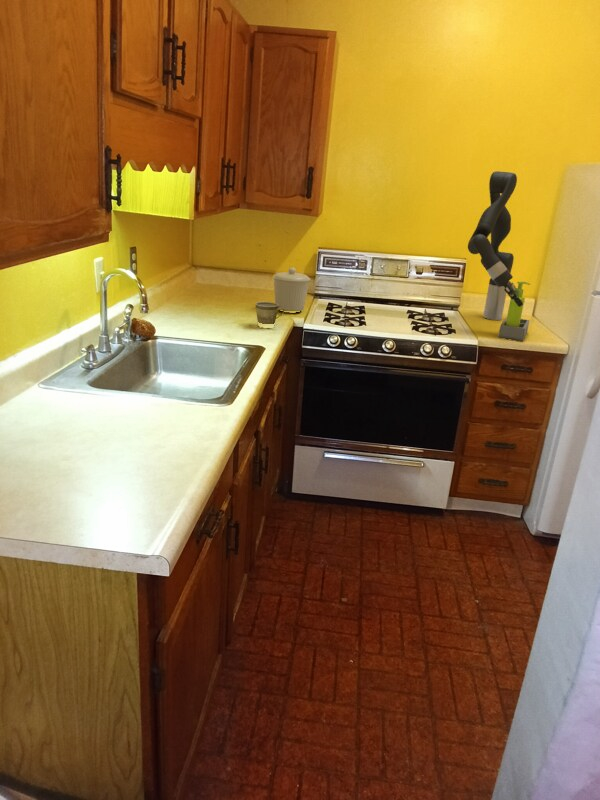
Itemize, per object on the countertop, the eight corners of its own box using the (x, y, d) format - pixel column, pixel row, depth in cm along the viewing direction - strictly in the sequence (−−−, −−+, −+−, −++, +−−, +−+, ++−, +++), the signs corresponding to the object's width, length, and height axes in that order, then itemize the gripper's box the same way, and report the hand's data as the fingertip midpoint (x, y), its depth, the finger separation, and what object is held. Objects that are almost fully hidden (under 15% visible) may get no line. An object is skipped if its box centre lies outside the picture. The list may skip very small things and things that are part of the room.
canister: (301, 307, 310) (304, 265, 303) (313, 315, 294) (316, 271, 287) (266, 307, 305) (268, 264, 297) (276, 315, 289) (279, 270, 281)
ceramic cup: (250, 327, 264) (251, 304, 261) (260, 323, 273) (261, 300, 269) (278, 332, 260) (279, 308, 256) (287, 327, 269) (288, 304, 265)
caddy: (504, 329, 295) (506, 316, 293) (527, 332, 291) (529, 320, 289) (498, 337, 277) (500, 324, 275) (522, 341, 273) (525, 328, 271)
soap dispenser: (522, 328, 275) (531, 283, 268) (506, 326, 276) (514, 282, 269) (520, 325, 280) (529, 281, 273) (504, 324, 281) (513, 280, 275)
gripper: (504, 270, 266) (527, 301, 266) (508, 267, 278) (531, 297, 278) (490, 281, 270) (512, 312, 270) (494, 277, 282) (516, 307, 282)
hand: (521, 304), depth 274 cm, fingers closed on soap dispenser, 6 cm apart
